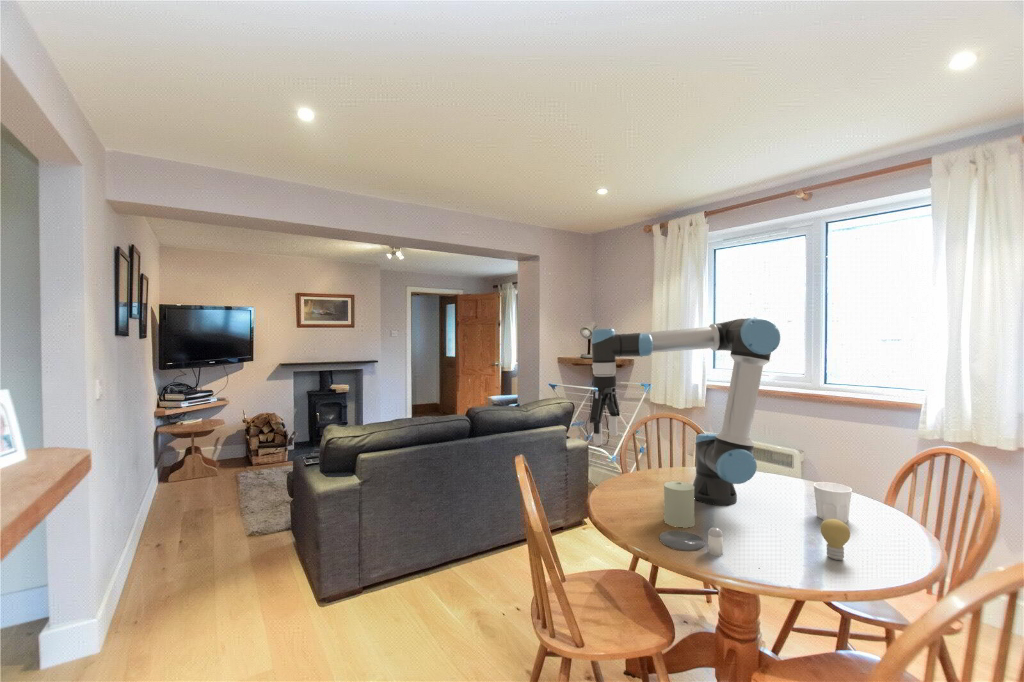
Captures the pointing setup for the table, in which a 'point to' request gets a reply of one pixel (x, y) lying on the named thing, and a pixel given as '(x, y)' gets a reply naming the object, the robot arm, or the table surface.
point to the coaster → (682, 540)
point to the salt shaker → (715, 542)
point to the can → (679, 504)
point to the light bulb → (835, 537)
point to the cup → (832, 501)
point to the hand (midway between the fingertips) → (605, 439)
